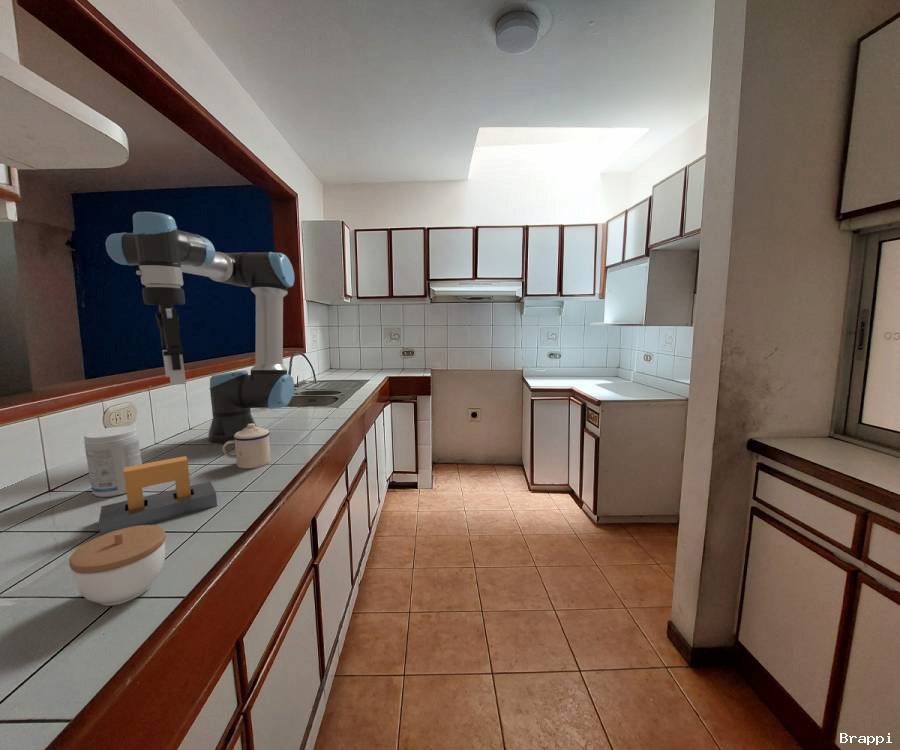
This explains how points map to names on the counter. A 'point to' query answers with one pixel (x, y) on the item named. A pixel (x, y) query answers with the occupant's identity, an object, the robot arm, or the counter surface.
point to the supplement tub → (111, 458)
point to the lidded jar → (119, 564)
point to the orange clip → (156, 478)
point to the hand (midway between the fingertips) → (175, 380)
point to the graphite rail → (156, 508)
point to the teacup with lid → (250, 447)
